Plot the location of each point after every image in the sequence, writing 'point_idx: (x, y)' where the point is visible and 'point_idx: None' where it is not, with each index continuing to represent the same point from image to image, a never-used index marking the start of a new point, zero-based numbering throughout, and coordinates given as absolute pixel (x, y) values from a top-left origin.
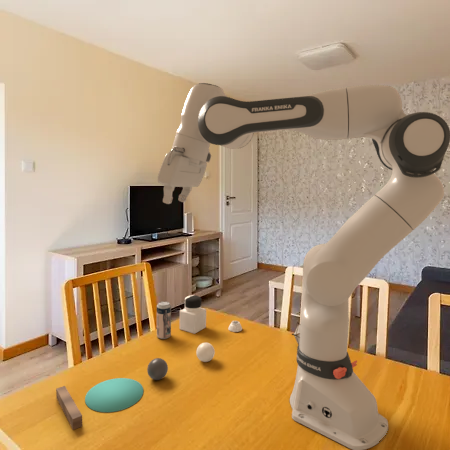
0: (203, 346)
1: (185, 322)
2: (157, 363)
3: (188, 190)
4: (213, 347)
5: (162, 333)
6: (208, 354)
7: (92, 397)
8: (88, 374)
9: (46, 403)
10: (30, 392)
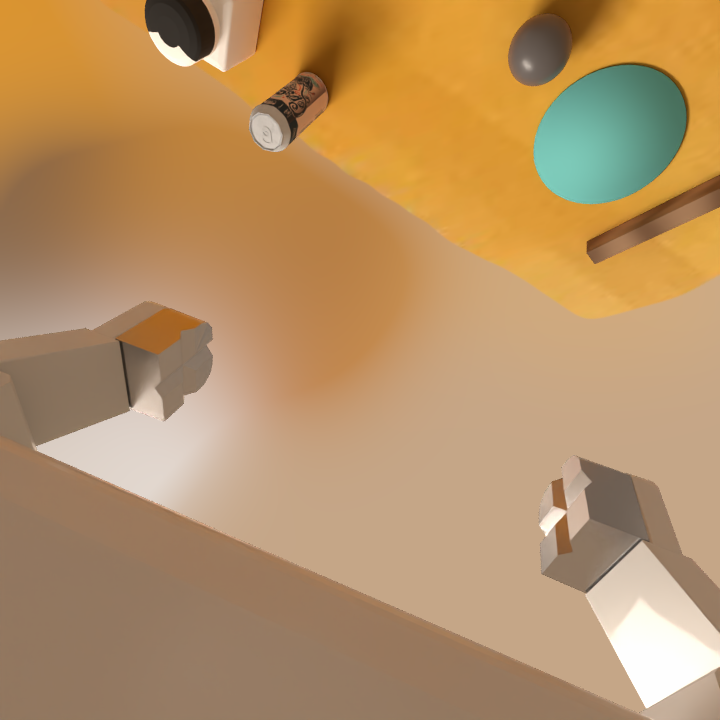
0: None
1: (245, 35)
2: (555, 54)
3: (10, 382)
4: None
5: (321, 99)
6: None
7: (610, 187)
8: (508, 223)
9: (610, 263)
10: (565, 297)
